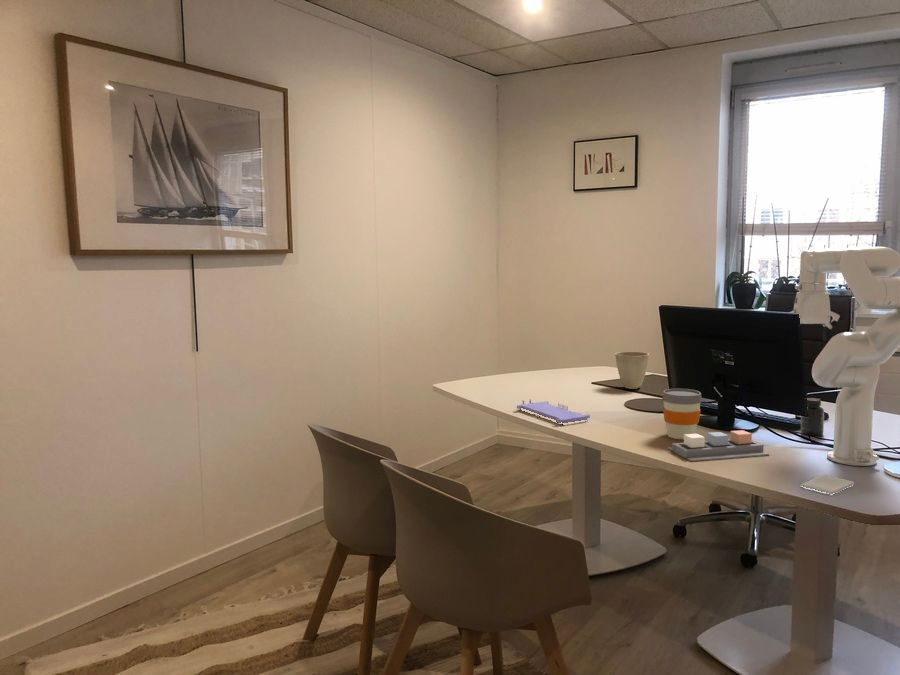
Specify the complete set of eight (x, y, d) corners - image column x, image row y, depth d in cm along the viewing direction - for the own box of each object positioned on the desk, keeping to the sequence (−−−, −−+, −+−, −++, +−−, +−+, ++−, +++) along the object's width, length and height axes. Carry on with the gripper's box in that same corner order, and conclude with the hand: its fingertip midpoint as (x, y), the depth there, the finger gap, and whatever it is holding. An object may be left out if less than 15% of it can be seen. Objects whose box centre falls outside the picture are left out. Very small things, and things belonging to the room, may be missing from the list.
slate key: (728, 444, 213) (728, 435, 212) (715, 445, 212) (715, 436, 211) (719, 441, 217) (720, 431, 217) (707, 442, 216) (707, 432, 216)
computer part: (543, 406, 282) (513, 411, 275) (543, 396, 282) (513, 400, 275) (591, 422, 256) (559, 427, 249) (591, 411, 255) (559, 416, 248)
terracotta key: (751, 443, 214) (751, 433, 214) (738, 444, 213) (738, 434, 213) (742, 439, 218) (743, 430, 218) (730, 440, 218) (730, 431, 217)
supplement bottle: (813, 430, 237) (815, 396, 236) (827, 436, 231) (829, 400, 229) (795, 432, 236) (797, 397, 235) (809, 437, 229) (811, 401, 228)
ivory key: (704, 446, 211) (704, 437, 211) (691, 447, 210) (691, 438, 210) (696, 442, 215) (696, 433, 215) (683, 443, 215) (683, 434, 214)
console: (769, 455, 210) (769, 447, 210) (690, 461, 205) (691, 453, 205) (741, 443, 224) (741, 435, 224) (667, 448, 219) (667, 441, 219)
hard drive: (822, 474, 189) (799, 483, 182) (854, 481, 183) (831, 491, 175) (822, 479, 190) (799, 489, 182) (854, 487, 183) (831, 498, 176)
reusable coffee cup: (698, 431, 239) (699, 389, 237) (702, 441, 227) (704, 396, 225) (660, 430, 241) (661, 388, 240) (662, 439, 229) (663, 395, 227)
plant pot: (647, 385, 320) (648, 351, 318) (649, 391, 306) (650, 356, 304) (614, 384, 324) (615, 350, 322) (614, 391, 309) (615, 355, 307)
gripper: (788, 289, 220) (786, 342, 222) (845, 288, 219) (843, 342, 221) (780, 288, 228) (778, 339, 230) (835, 287, 226) (832, 339, 228)
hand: (809, 340), depth 225 cm, fingers open, 9 cm apart
